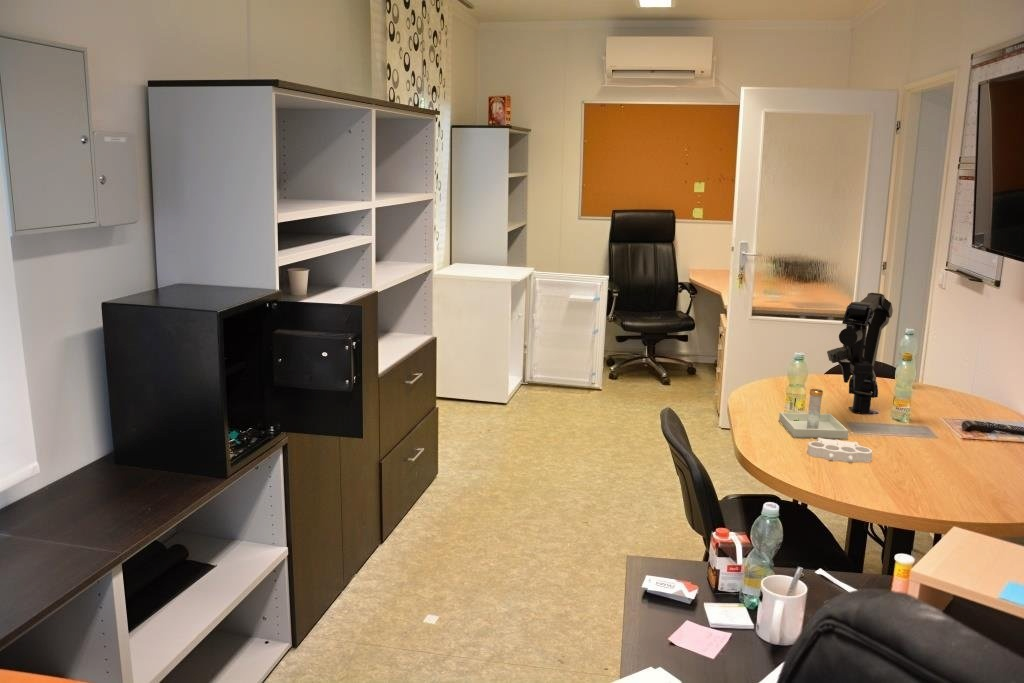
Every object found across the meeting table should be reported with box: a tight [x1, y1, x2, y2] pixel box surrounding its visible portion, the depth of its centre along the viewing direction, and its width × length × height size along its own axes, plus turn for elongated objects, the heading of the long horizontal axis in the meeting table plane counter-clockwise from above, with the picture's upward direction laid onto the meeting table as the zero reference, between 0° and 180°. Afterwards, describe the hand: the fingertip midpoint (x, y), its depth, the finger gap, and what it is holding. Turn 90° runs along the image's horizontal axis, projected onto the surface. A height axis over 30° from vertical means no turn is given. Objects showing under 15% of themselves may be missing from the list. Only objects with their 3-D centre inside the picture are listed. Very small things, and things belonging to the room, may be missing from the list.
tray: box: [778, 411, 850, 440], centre depth 267 cm, size 17×17×3 cm
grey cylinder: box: [807, 388, 824, 429], centre depth 266 cm, size 4×4×13 cm
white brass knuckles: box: [806, 438, 873, 464], centre depth 245 cm, size 3×18×15 cm
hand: (850, 386), depth 272 cm, fingers open, 9 cm apart
